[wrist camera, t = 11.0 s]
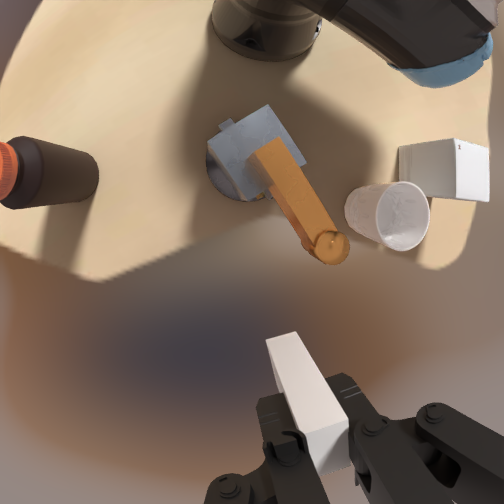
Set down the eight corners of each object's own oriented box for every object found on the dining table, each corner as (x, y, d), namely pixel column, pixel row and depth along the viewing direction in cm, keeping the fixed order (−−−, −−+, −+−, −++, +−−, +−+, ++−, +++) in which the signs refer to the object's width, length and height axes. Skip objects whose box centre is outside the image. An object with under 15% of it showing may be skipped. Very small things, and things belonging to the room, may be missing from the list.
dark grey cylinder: (193, 141, 37) (188, 127, 28) (266, 113, 37) (281, 92, 28) (225, 213, 39) (228, 220, 30) (296, 183, 39) (320, 181, 30)
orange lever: (277, 254, 38) (309, 285, 25) (199, 139, 34) (193, 112, 21) (322, 223, 38) (372, 239, 25) (248, 108, 34) (266, 69, 21)
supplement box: (397, 194, 41) (454, 198, 29) (397, 145, 40) (454, 135, 28) (433, 198, 42) (490, 203, 30) (433, 152, 41) (489, 146, 29)
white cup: (391, 188, 41) (434, 190, 31) (382, 241, 42) (423, 255, 33) (344, 176, 40) (381, 173, 30) (335, 233, 41) (369, 246, 31)
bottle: (69, 211, 36) (-27, 231, 16) (50, 169, 34) (-48, 161, 15) (108, 185, 36) (23, 183, 17) (88, 142, 35) (-1, 110, 15)
